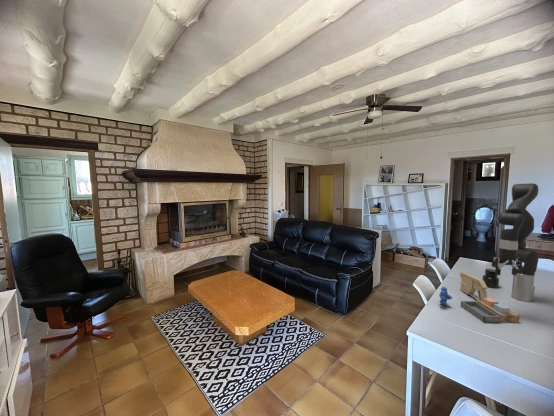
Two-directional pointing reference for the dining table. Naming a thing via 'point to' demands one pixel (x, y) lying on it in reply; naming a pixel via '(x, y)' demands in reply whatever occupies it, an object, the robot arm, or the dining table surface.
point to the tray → (480, 312)
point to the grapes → (444, 296)
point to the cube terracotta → (490, 302)
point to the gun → (473, 286)
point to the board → (503, 314)
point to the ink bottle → (491, 278)
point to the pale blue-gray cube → (501, 308)
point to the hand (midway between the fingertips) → (505, 274)
